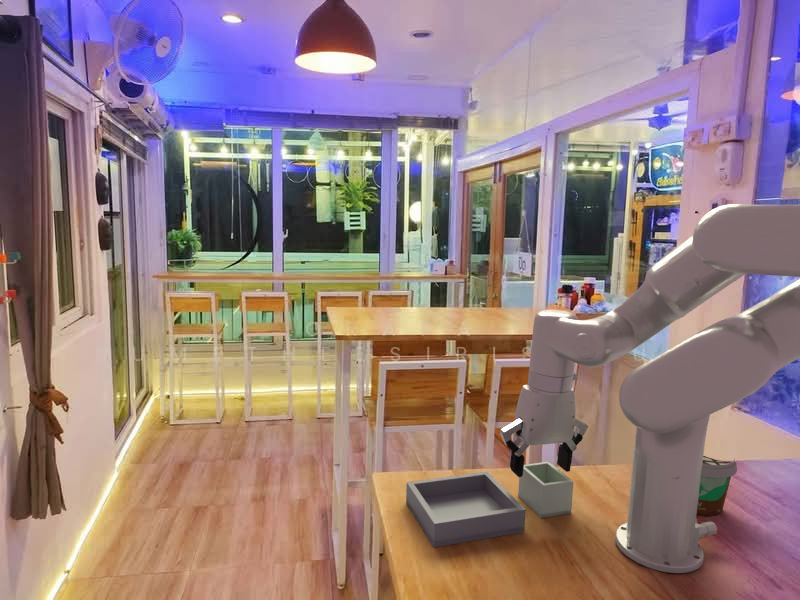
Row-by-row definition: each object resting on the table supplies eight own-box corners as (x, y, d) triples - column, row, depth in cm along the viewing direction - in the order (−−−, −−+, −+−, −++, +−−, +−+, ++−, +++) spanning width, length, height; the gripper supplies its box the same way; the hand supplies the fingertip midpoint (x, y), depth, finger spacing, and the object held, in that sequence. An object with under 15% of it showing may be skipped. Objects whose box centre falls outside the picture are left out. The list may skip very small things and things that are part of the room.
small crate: (546, 491, 106) (548, 461, 105) (571, 513, 98) (573, 481, 97) (518, 495, 104) (519, 465, 103) (541, 518, 96) (543, 485, 95)
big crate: (486, 491, 105) (487, 471, 105) (524, 531, 92) (525, 509, 91) (406, 502, 100) (406, 482, 100) (433, 547, 87) (434, 523, 87)
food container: (654, 509, 100) (659, 456, 98) (656, 494, 105) (661, 444, 104) (734, 528, 94) (740, 472, 93) (732, 511, 100) (738, 458, 98)
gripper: (579, 371, 104) (569, 457, 107) (495, 376, 98) (487, 465, 102) (605, 385, 97) (593, 476, 100) (516, 390, 91) (507, 486, 95)
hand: (540, 470), depth 101 cm, fingers open, 9 cm apart
